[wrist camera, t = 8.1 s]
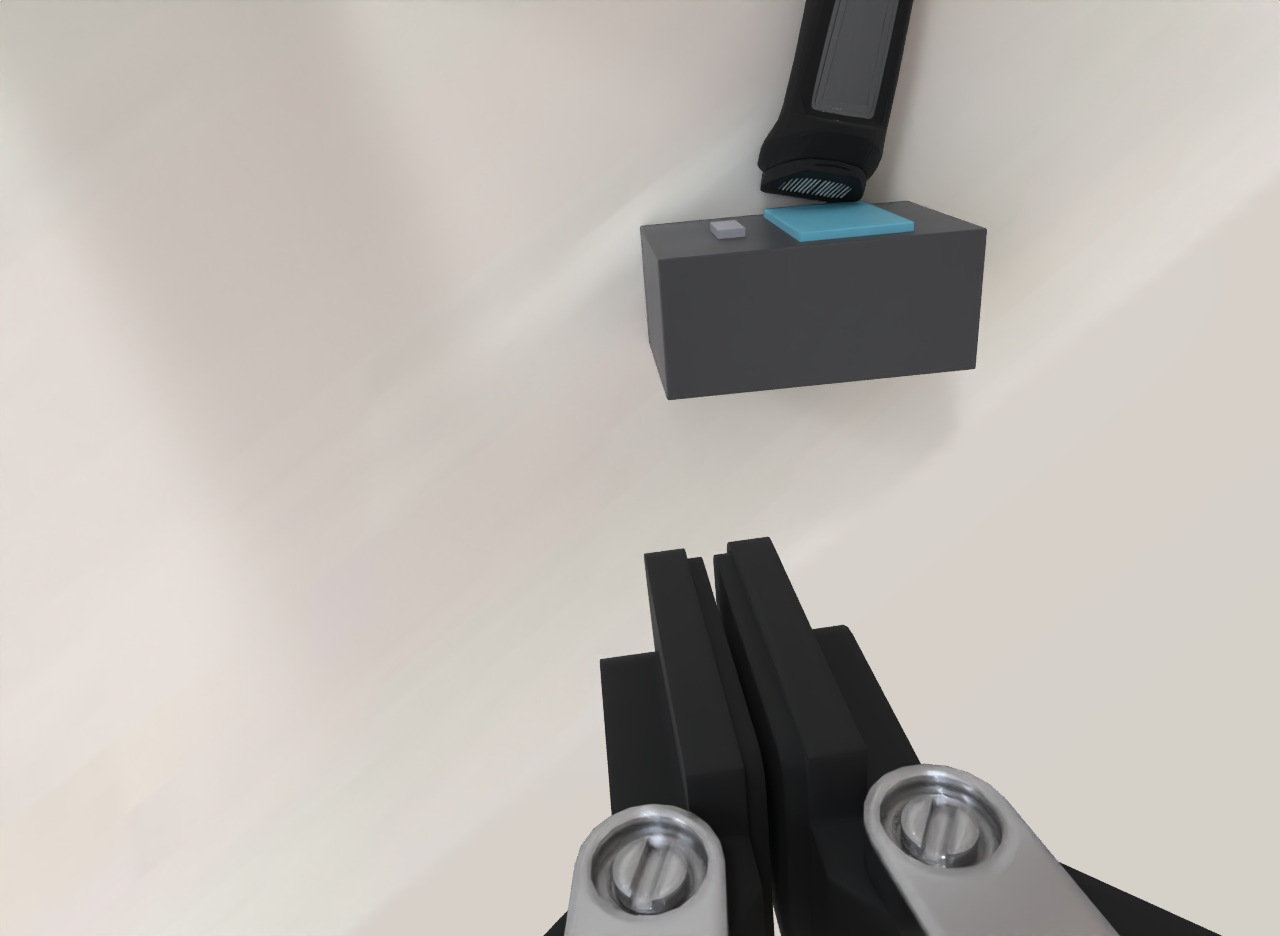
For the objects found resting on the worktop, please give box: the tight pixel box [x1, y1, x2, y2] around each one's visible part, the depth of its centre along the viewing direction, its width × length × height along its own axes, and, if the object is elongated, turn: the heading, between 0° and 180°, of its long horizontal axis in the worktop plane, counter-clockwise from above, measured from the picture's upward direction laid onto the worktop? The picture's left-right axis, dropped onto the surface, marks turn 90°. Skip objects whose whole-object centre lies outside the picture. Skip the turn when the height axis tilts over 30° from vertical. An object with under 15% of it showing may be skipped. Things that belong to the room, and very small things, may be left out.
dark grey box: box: [640, 200, 987, 400], centre depth 27 cm, size 4×6×9 cm
